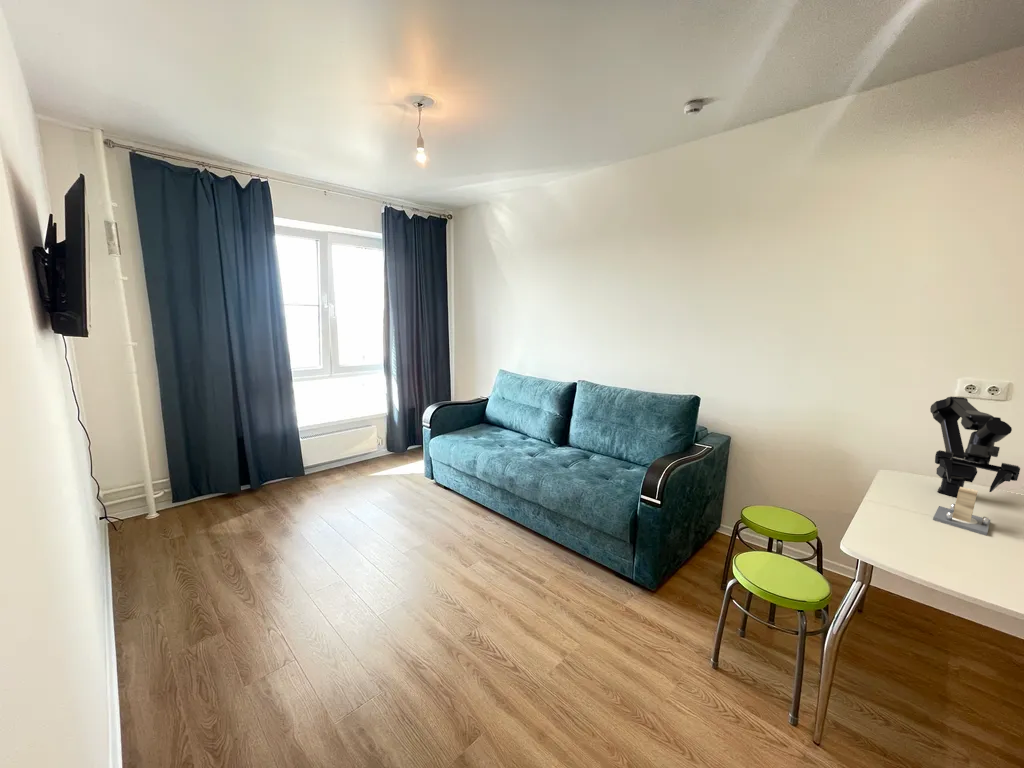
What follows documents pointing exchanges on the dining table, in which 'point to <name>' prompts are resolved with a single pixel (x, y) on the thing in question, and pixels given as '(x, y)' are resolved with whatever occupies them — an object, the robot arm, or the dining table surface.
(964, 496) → the maple block
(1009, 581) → the dining table surface
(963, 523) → the plate
